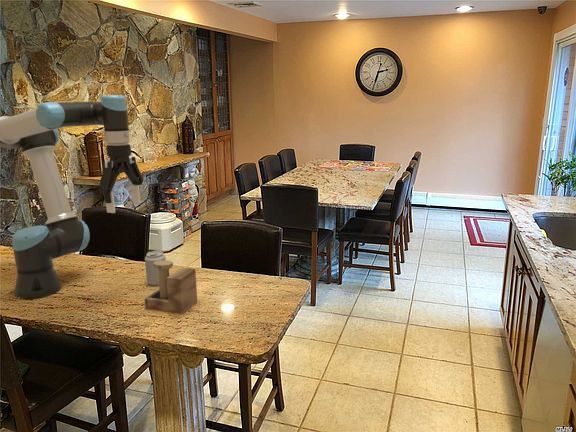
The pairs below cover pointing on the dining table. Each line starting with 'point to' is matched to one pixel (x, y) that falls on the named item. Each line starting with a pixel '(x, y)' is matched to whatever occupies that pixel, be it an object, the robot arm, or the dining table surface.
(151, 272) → the can
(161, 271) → the handle
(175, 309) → the wooden stand
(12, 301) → the dining table surface
